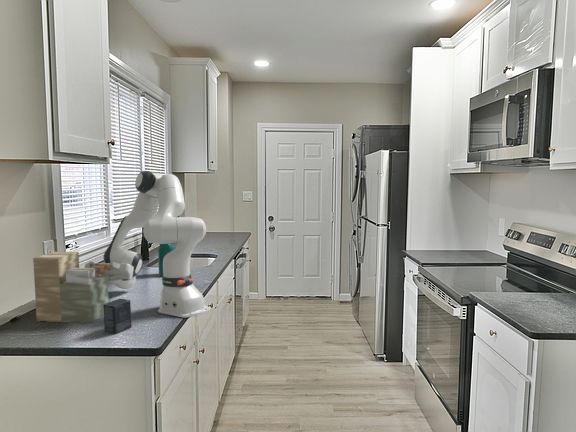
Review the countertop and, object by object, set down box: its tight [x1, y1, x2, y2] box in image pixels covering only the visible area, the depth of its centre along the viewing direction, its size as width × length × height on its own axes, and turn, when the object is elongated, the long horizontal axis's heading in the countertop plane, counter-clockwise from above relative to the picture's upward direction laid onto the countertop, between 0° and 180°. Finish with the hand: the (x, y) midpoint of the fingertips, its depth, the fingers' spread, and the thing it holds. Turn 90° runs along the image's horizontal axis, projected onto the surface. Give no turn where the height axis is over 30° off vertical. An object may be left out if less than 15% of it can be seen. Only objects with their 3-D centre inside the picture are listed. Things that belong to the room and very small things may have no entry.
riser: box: [32, 251, 110, 324], centre depth 171 cm, size 14×22×25 cm, turn 86°
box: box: [103, 298, 132, 335], centre depth 156 cm, size 8×6×11 cm
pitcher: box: [157, 243, 177, 278], centre depth 241 cm, size 10×8×22 cm
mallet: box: [66, 264, 110, 284], centre depth 176 cm, size 23×9×5 cm, turn 177°
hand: (100, 263), depth 183 cm, fingers open, 8 cm apart
